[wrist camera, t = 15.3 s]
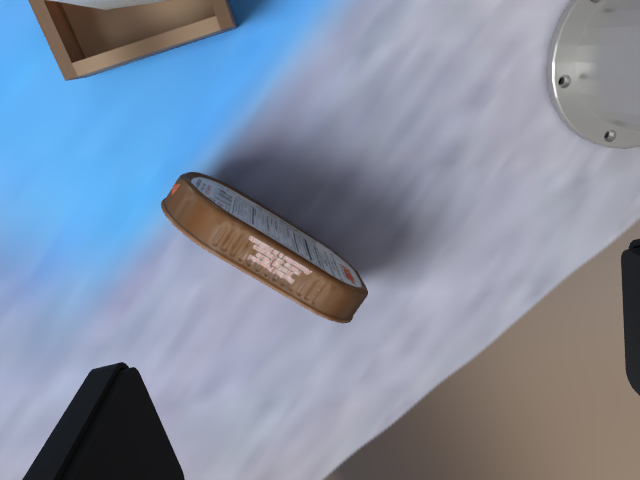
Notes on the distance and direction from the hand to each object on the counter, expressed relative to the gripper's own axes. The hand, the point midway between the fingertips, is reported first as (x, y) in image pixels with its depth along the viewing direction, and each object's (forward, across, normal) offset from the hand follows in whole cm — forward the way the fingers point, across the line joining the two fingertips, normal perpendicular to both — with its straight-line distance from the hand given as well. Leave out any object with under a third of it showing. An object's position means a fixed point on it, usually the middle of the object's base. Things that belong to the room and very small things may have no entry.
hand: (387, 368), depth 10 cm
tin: (+29, +5, +6) cm, 30 cm away
